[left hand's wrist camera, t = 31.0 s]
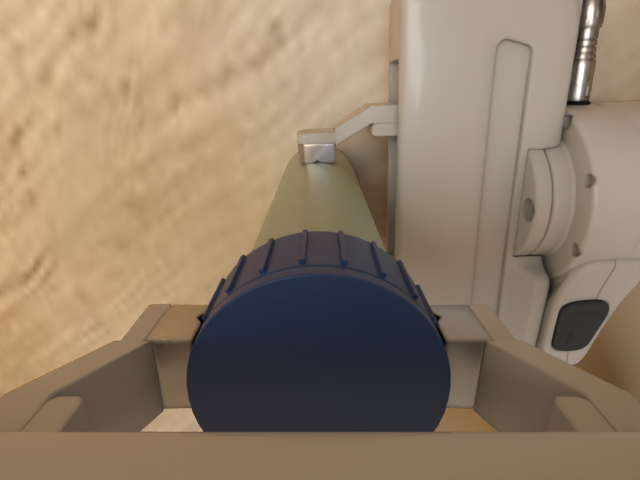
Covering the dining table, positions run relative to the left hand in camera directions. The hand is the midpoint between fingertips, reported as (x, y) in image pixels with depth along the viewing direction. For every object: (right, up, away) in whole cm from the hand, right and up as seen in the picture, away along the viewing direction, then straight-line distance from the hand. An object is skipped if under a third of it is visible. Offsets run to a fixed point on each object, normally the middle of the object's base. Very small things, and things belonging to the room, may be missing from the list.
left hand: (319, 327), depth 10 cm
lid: (0, -1, -2) cm, 2 cm away
